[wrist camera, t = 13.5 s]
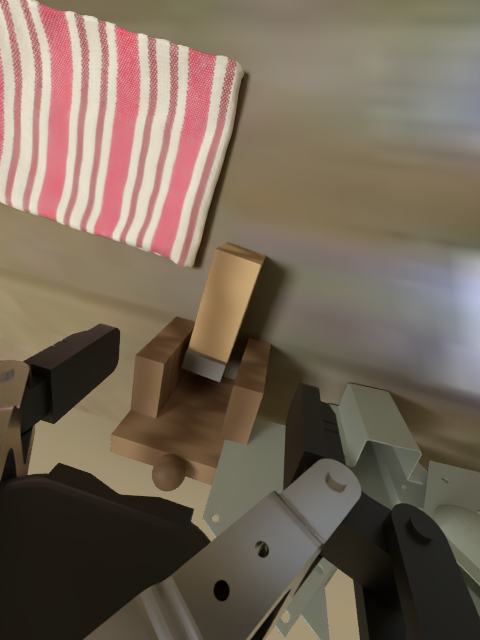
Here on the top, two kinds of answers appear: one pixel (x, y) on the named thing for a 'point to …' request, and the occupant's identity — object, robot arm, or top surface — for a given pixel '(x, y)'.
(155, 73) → the dish towel
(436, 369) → the top surface
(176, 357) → the wooden block holder
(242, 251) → the tan rectangular block
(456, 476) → the bracket
